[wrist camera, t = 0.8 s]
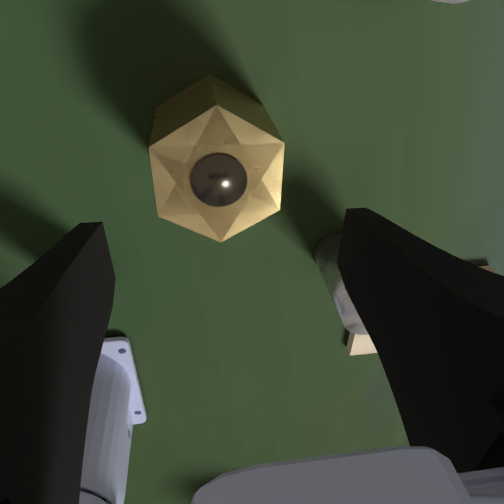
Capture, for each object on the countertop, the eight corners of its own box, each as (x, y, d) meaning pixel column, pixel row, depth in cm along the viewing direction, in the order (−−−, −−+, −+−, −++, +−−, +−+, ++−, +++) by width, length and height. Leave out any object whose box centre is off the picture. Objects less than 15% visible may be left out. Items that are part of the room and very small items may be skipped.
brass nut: (260, 187, 22) (278, 239, 18) (166, 191, 21) (161, 247, 17) (264, 72, 18) (287, 104, 14) (152, 74, 18) (142, 107, 14)
